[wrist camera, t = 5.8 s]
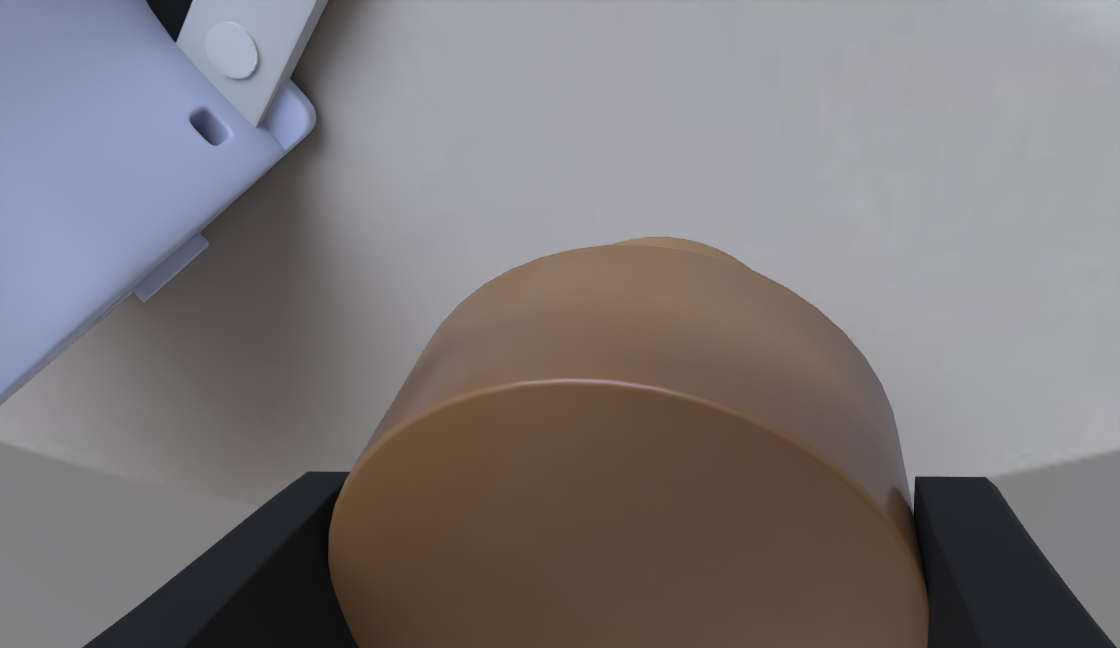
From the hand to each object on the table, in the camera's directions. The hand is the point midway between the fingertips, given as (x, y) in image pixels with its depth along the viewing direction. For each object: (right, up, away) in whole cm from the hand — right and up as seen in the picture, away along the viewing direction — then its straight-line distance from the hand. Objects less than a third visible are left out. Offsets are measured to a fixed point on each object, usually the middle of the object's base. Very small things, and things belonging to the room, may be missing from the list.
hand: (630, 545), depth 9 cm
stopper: (+1, +2, +3) cm, 4 cm away
